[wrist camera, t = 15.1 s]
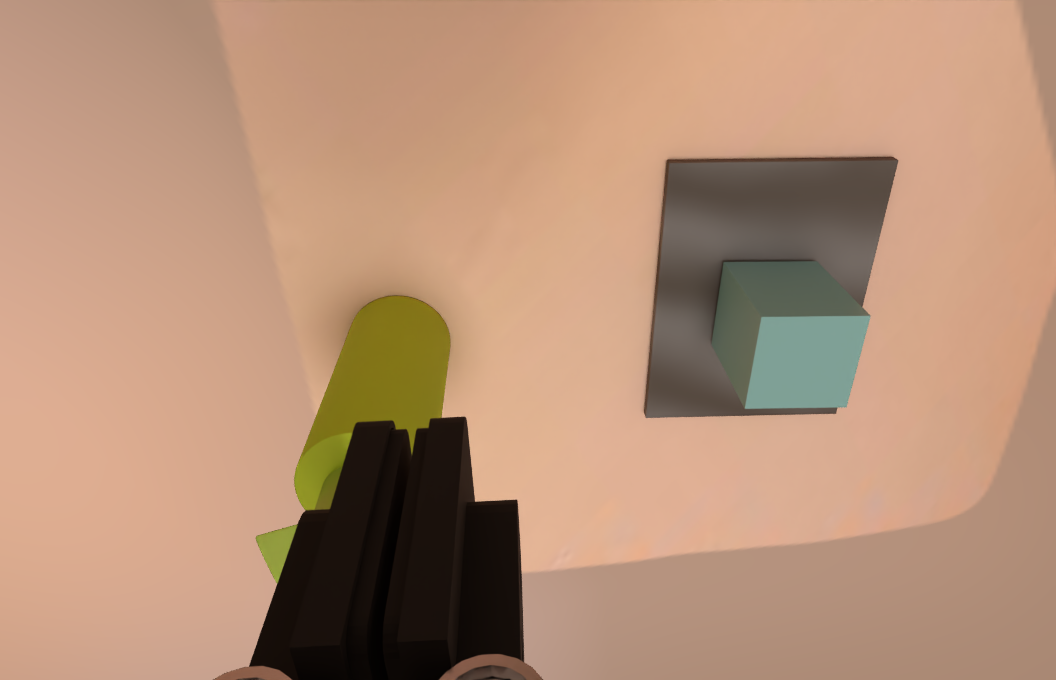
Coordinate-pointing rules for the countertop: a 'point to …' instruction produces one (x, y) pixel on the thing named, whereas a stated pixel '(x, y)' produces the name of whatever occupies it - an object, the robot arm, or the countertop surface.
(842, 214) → the grey base plate
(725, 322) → the teal cuboid
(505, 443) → the countertop surface
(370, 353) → the soap dispenser
